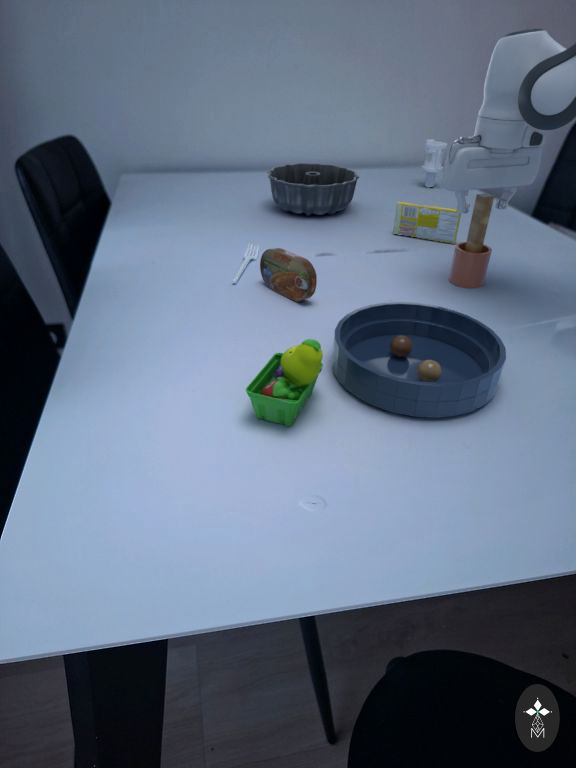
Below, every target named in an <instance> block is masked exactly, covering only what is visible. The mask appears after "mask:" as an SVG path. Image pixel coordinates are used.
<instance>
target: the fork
mask: <svg viewBox="0 0 576 768" xmlns="http://www.w3.org/2000/svg"><path fill="white" fill-rule="evenodd" d="M253 245H254V246H253ZM259 250H260V244H256V243H255V244H253V243H251V244H250V243H248V246H247V248H246V250H245V253H244V255H243V257H242V259H243V261H242V263H241V266H240V267H239V268H238V270H237V272H236V274H235V276H234V277H233V278H232V284H237V282H238V281H239V279H240V277H241V276H242V274H243V273H244V271H245V270H246V267H247V265H249V263H250V261H251V260H258V257H259V252H260V251H259Z"/></svg>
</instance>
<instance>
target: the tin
mask: <svg viewBox="0 0 576 768" xmlns="http://www.w3.org/2000/svg"><path fill="white" fill-rule="evenodd" d="M259 270H260V274H261V278H262V281H263V282H264V284H265V286H266V287H268V289H270V290H271V291H274V292H275V293H278V294H280V295H282V296H283V297H285V298H287V299H289V300H291V301H292V302H293V301H294V302H297V303H298V302H302V301H304V300H308V299H310V298H311V297H312V296H313V295H314V294H315V293H316V290H317V283H318V282H317V278H318V277H317V272H316V269H315V267H314V265H313V264H312V263H311V262H310V260H308V259H307V258H306V257H303V256H300V255H299V254H295V253H293V252H291V251H288V250H286V249H283V248H281V247H276V248H268V249H266V250H264V252H262V254H261V257H260V261H259Z"/></svg>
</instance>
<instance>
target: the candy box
mask: <svg viewBox="0 0 576 768" xmlns="http://www.w3.org/2000/svg"><path fill="white" fill-rule="evenodd" d="M395 207H396V208H395V215H394V223H393V229H392V234H393V233H395V234H401V235H406V236H411V237H410V238H413V237H417V238H416V239H419V238H422V239H421V240H425V239H428V240H427V241H431V240H434V241H433V242H438V241H440V242H439V243H444V242H445V244H452V245H456V242H457V237H458V231H459V227H460V221H461V217H462V214H460V213H458V212H457V208H449V207H440V206H433V205H426V204H420V203H419V204H417V203H411V202H403V201H398V202H396V206H395ZM406 236H405V237H406Z"/></svg>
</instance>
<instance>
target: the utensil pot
mask: <svg viewBox="0 0 576 768" xmlns="http://www.w3.org/2000/svg"><path fill="white" fill-rule="evenodd" d="M466 242H467V241H463V242H458V243H455V247H454V251H453V257H452V261H451V264H450V265H451V266H450V271H449V276H448V282H449V283H450V284H452V285H453V286H455V287H459V288H462V289H469V290H470V289H480V288H482V287H484V284H485V280H486V276H487V273H488V269H489V263H490V260H491V256H492V253H493V249H492V248H491V247H490V246H489V245H487V244H484V243H483V247H482V251H481V253H471V252H467V251H465V246H466Z"/></svg>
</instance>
